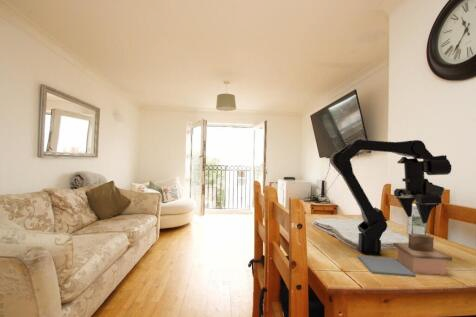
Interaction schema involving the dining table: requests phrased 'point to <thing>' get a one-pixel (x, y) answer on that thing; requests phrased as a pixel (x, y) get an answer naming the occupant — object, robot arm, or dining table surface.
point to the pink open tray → (422, 264)
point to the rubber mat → (385, 266)
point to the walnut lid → (421, 248)
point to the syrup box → (416, 223)
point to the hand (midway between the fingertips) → (416, 219)
